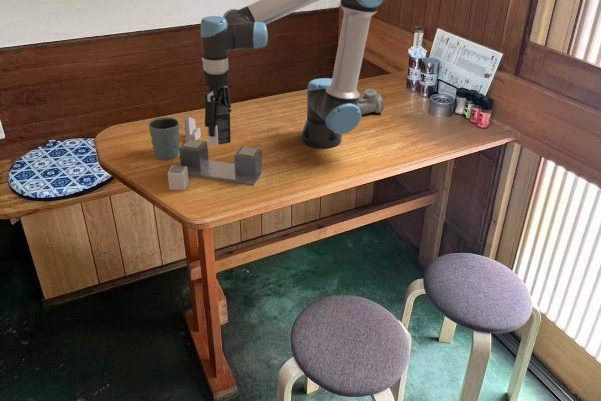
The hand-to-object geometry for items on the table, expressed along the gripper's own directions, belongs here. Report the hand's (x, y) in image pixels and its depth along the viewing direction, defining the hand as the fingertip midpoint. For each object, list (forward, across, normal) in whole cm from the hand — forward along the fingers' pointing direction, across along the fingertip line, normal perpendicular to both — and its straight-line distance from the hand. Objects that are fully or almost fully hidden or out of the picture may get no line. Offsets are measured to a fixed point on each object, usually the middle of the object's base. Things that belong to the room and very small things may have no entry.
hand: (219, 137), depth 179 cm
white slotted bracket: (+13, -21, -19) cm, 31 cm away
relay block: (+13, +12, -10) cm, 20 cm away
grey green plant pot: (+13, -7, -23) cm, 27 cm away
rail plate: (+13, 0, 0) cm, 13 cm away
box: (+1, 0, 0) cm, 1 cm away
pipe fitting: (+13, -63, +40) cm, 76 cm away
